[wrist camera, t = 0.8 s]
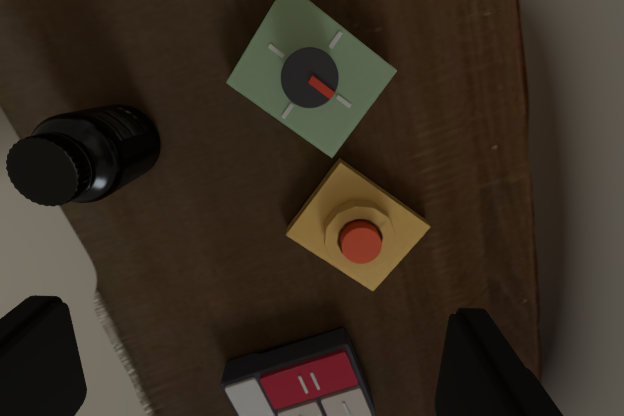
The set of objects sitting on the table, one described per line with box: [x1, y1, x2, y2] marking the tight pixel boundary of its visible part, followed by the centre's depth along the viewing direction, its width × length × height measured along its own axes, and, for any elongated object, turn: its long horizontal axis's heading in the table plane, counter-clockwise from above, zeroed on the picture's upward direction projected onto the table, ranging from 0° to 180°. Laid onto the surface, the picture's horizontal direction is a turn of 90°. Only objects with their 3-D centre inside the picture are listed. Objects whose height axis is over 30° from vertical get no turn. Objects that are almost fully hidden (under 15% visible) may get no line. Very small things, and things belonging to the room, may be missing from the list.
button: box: [340, 220, 382, 264], centre depth 35 cm, size 4×4×2 cm
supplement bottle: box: [6, 105, 160, 206], centre depth 31 cm, size 7×7×12 cm
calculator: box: [220, 328, 376, 416], centre depth 44 cm, size 11×4×15 cm
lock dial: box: [281, 47, 339, 108], centre depth 29 cm, size 4×4×6 cm
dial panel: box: [226, 0, 397, 158], centre depth 33 cm, size 11×9×3 cm
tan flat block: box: [286, 158, 431, 291], centre depth 37 cm, size 11×9×4 cm
